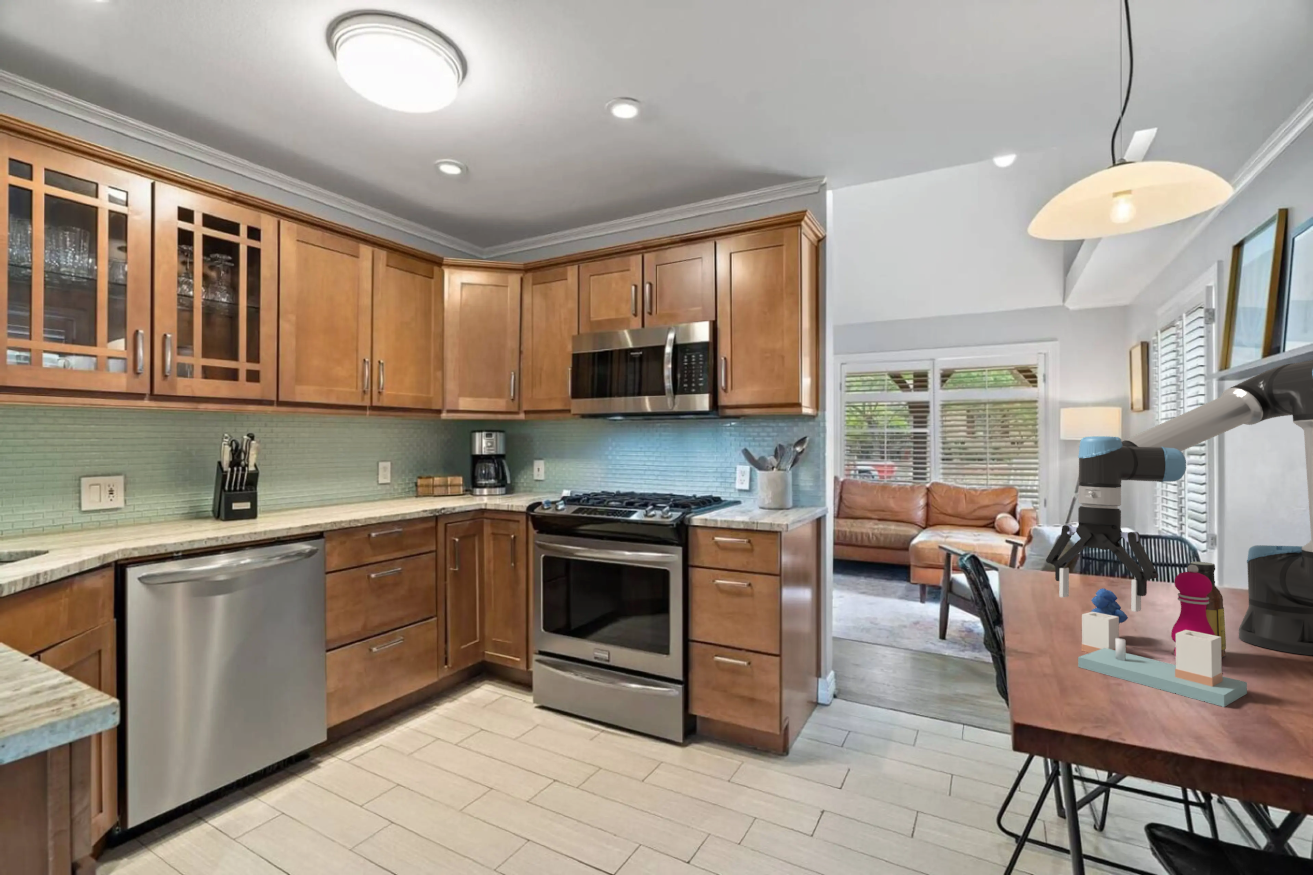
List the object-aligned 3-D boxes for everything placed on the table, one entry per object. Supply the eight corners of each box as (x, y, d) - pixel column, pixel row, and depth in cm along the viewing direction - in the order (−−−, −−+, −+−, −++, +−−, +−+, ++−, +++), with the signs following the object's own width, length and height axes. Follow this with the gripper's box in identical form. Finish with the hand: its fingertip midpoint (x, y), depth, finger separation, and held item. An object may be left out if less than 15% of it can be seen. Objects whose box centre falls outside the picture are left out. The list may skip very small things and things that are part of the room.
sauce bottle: (1210, 650, 132) (1208, 560, 133) (1234, 659, 126) (1233, 565, 127) (1178, 648, 133) (1177, 559, 134) (1201, 657, 127) (1200, 564, 127)
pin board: (1105, 657, 126) (1104, 628, 126) (1247, 693, 107) (1246, 659, 107) (1078, 666, 120) (1078, 636, 120) (1224, 706, 101) (1223, 671, 101)
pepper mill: (1177, 661, 124) (1176, 565, 125) (1167, 651, 131) (1165, 560, 131) (1222, 667, 121) (1221, 569, 122) (1210, 657, 127) (1208, 563, 128)
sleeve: (1092, 647, 133) (1092, 611, 133) (1119, 653, 128) (1119, 616, 129) (1081, 650, 130) (1081, 614, 130) (1109, 657, 126) (1108, 619, 126)
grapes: (1118, 648, 133) (1117, 594, 133) (1083, 639, 138) (1083, 588, 139) (1138, 639, 139) (1137, 588, 139) (1104, 632, 145) (1103, 583, 145)
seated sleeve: (1185, 672, 112) (1185, 629, 112) (1222, 681, 108) (1221, 636, 108) (1175, 676, 109) (1174, 633, 110) (1212, 686, 105) (1211, 640, 105)
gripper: (1030, 501, 139) (1029, 592, 138) (1163, 512, 118) (1162, 619, 117) (1046, 501, 143) (1045, 589, 142) (1178, 511, 122) (1177, 615, 121)
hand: (1098, 603), depth 130 cm, fingers open, 13 cm apart
